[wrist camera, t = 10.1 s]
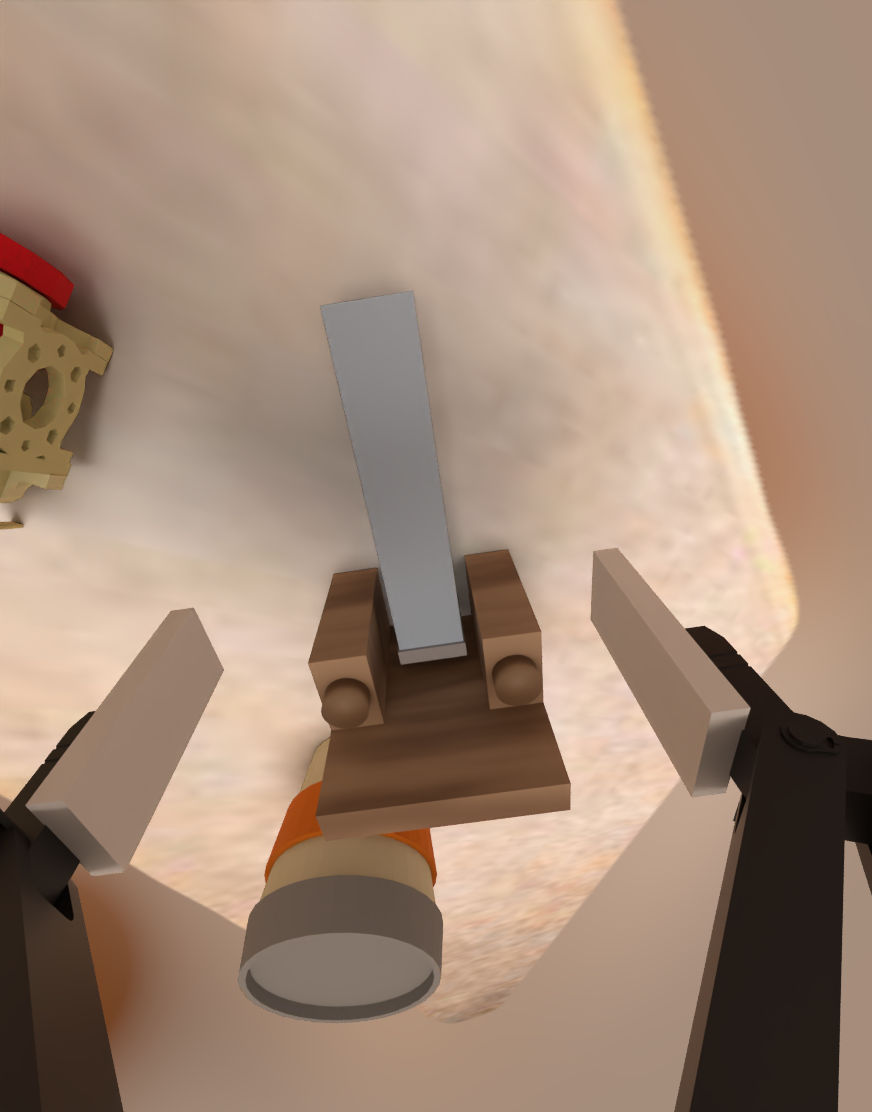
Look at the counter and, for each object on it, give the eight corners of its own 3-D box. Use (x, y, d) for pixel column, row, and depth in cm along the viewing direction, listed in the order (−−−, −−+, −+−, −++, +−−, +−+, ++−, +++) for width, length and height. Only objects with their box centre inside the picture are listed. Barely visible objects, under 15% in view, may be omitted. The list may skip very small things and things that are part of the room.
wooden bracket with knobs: (333, 574, 32) (284, 744, 19) (508, 549, 31) (571, 706, 19) (355, 652, 35) (325, 841, 23) (513, 631, 35) (570, 809, 22)
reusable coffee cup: (332, 692, 37) (289, 908, 24) (462, 746, 40) (486, 959, 27) (267, 782, 41) (200, 1004, 28) (388, 823, 45) (380, 1036, 32)
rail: (334, 306, 24) (316, 306, 20) (414, 293, 24) (415, 290, 19) (402, 616, 34) (400, 664, 29) (459, 607, 33) (467, 655, 29)
